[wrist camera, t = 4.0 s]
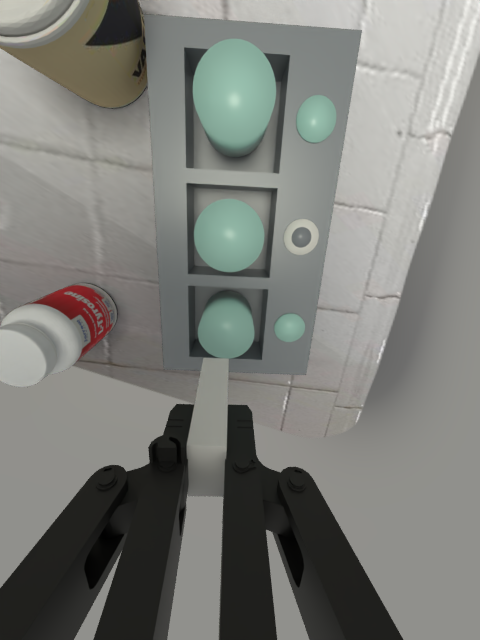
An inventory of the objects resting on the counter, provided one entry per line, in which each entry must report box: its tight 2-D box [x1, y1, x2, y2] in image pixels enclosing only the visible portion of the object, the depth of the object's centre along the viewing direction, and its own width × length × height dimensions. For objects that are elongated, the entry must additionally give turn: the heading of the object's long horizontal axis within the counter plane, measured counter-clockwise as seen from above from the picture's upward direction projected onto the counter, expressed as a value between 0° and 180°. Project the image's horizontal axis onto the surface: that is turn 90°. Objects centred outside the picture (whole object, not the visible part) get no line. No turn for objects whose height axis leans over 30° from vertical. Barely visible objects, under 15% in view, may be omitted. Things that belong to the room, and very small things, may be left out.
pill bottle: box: [0, 283, 117, 387], centre depth 25 cm, size 6×6×11 cm
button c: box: [193, 39, 276, 157], centre depth 18 cm, size 5×5×5 cm
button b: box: [194, 199, 264, 272], centre depth 21 cm, size 5×5×5 cm
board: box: [144, 14, 362, 375], centre depth 24 cm, size 14×26×5 cm, turn 177°
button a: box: [198, 291, 254, 359], centre depth 26 cm, size 5×5×5 cm
